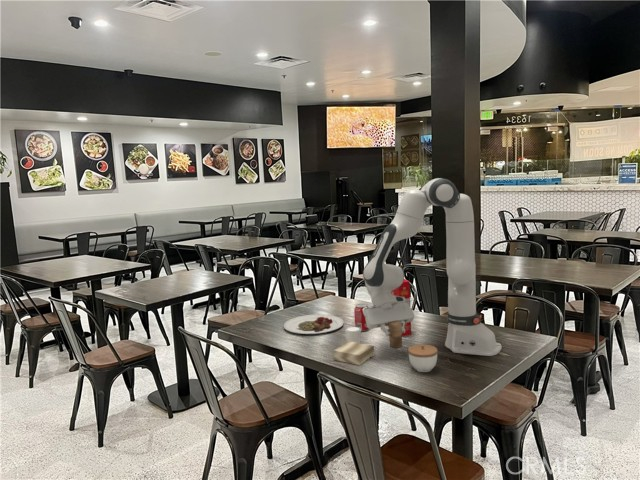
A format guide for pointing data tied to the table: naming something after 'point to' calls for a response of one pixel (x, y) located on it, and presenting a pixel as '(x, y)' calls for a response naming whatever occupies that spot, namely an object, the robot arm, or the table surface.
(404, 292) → the food packaging
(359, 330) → the shot glass
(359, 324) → the soda can
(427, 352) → the lidded jar
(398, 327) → the walnut cylinder
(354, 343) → the birch riser
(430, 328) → the table surface
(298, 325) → the plated food
